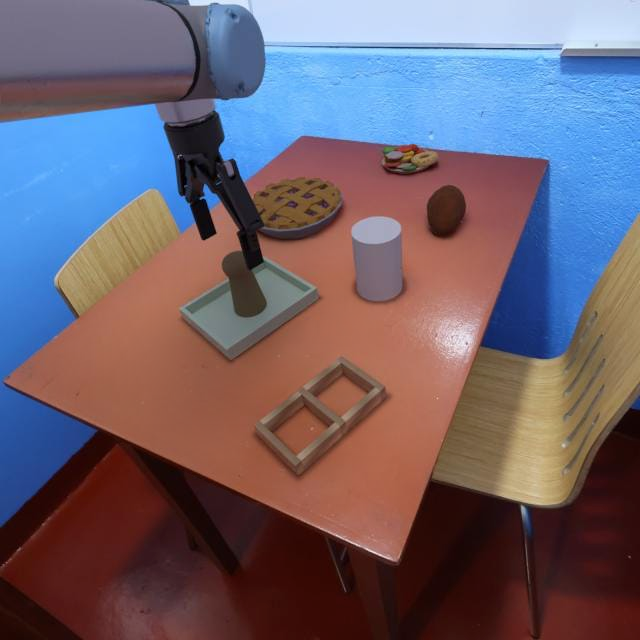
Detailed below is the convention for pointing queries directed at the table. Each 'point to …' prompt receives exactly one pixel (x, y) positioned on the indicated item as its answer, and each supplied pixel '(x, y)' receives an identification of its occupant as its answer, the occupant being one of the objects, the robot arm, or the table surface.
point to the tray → (242, 332)
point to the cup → (377, 257)
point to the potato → (445, 209)
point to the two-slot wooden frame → (320, 413)
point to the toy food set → (407, 159)
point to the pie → (297, 207)
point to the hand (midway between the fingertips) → (231, 250)
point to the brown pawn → (243, 286)
